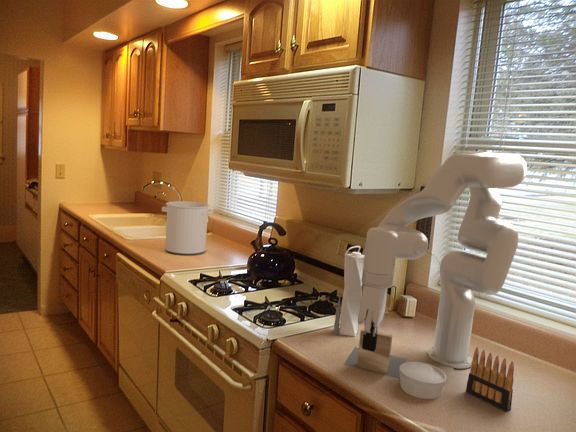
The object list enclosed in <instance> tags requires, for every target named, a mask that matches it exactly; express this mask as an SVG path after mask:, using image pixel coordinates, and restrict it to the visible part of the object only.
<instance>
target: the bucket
mask: <svg viewBox="0 0 576 432" xmlns="http://www.w3.org/2000/svg"><path fill="white" fill-rule="evenodd" d="M165 205H166V206H162V207H161V212H164V213H166V223H165V224H166V225H165V245H164V247H165V251H166V252H167V253H168V254H172V255H179V256H195V255H201V254H204V253H205V252H206V248H207V246H206V245H207V233H208V231H207V230H208V228H207V227H208V215H211V216H213V215H214V209H209V207H210V204H207V203H204V202H198V201H182V200H181V201H180V200H177V201H167V202H165Z"/></svg>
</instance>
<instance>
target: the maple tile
mask: <svg viewBox="0 0 576 432" xmlns="http://www.w3.org/2000/svg"><path fill="white" fill-rule="evenodd" d="M377 334H378V336H377V344H376V349H375V351H374V352H373V351H368V350H364V349H362V343H363V335H364V327H362V328H361V329H360V333H359V341H358V342H359V343H358V348H359V351H358V361H357V366H358V367H362V368H366V369H370V370H374V371H378V372H382V373H386V374H387V372H388V370H389V361H390V355H391V351H392V343H393V333H388V332H383V331H379V330H378V332H377Z"/></svg>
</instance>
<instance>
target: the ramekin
mask: <svg viewBox="0 0 576 432" xmlns="http://www.w3.org/2000/svg"><path fill="white" fill-rule="evenodd" d="M399 373H400V378H399V379H400V380H399V381H400V383H399V384H400V388H401V389H402V390H403V391H404V392H405V393H406V394H408V395H409V396H412V397H414V398H418V399H422V400H423V399H424V400H435V399H437V398H439V397H440V396H441V395H442V392H443V389H444V387H445V384H446V383H447V379H448V377H447V374H446V373H445V372H444V371H443V370H442V369H440V368H439V367H437V366H435V365H432V364H429V363H426V362H421V361H406V363H403V364H401V365H400V367H399Z"/></svg>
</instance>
